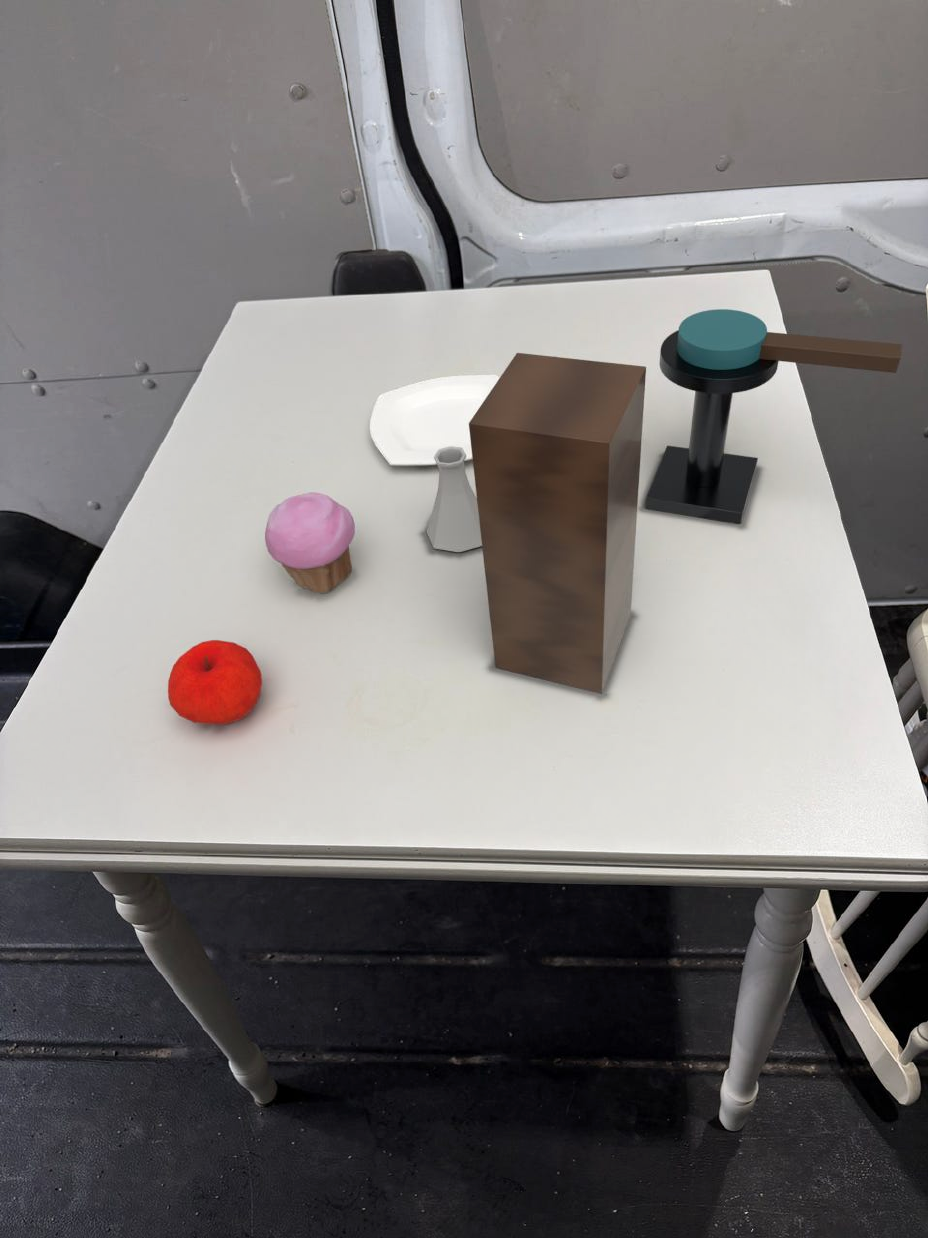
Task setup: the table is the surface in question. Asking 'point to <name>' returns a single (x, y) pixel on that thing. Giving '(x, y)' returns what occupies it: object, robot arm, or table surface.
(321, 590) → the cupcake
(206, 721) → the apple
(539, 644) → the pedestal
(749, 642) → the table surface
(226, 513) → the table surface
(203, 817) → the table surface
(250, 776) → the table surface
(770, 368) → the display stand
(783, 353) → the disc paddle
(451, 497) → the flask
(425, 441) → the plate
